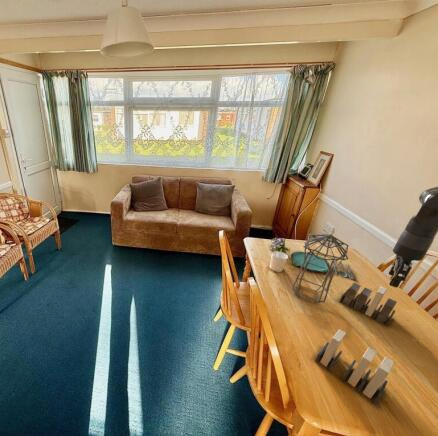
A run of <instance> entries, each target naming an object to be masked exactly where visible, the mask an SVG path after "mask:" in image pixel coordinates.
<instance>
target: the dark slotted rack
mask: <svg viewBox="0 0 438 436" xmlns="http://www.w3.org/2000/svg"><path fill="white" fill-rule="evenodd" d="M346 334H347V333H346V332H345V331H343V330H341V329H340V328H339V329H338V330H337V331H336V332H335V334H334V335H333V336H332V338H331V339H330V342H329V341H327V342H326V343H325V345H324V346H323V347H322V348H321V349H320V351H319V352H317V355H316V357H315V360H314V362H316V363H318V361H319V360H320V359H321V360H320V361H319V362H320V364H322V365H323V366H324V367H328V366H329V367H328V368H327V371H328V372H331V370H332V369H333V368H334V367H335V365H336V363H337V362H338V360H339V359H340V357H341V355H342V353H343V351H342V350H339V348H340V346H341V344H342V342H343V340H344V338H345V336H346ZM338 350H339V352H338V353H337V351H338ZM377 352H378V351H377V350H375V349H373V348H372V347H371V346H368V347H367V349H366V350H365V352H364V353H363V355H362V357H361V359H360V360H359V362H358V363H357V360H356V359H353V360H352V362H351V364H350V365H349V367H348V368H347V370H346V371H345V373H344V375H343V377H342V378H341V382H345V380H346V379H347V377H348V375H349V374H350V373H351V370H352V369H353V367H354V366H355V364H356V363H357V365H356V367H355V368H354V370H353V371H352V373H351V374H350V376H349V378H348V379H347V381H346V382H347V383H348V384H349V385H351V386H352V387H353V388H355V387H356V386H357V384H358V383H359V381H360V380H361V378H362V377H363V378H362V380H361V382H360V383H359V385H358V387H357V388H356V392H357V393H360V392H361V390H362V389H363V387H364V385H365V384H366V385H365V387H364V389H363V391H362V394H363V395H364V396H366V397H367V398H369V399H372V398H373V396H374V395H375V394H376V395H375V396H374V399H373V400H372V404H373V405H376V404H377V403H378V402H379V400H380V399H381V397H382V395H383V393H384V391H385V389H386V387H387V384H388V380H387V379H386V378H387V377H388V375H389V374H390V372H391V370H392V368H393V366H394V363H395V361H394V360H392V359H391V358H389V357H387V356H384V358H383V359H382V361H381V363H380V364H379V365H378V367H377V368H376V369H375V372H373V374H372V376H371V377H370V379H369V376H370V374H371V372H372V370H371V369H368V368H369V366H370V365H371V364H372V361H373V359H374V358H375V356H376V354H377ZM336 353H337V354H336ZM330 362H331V363H330ZM329 364H330V365H329ZM367 369H368V370H367ZM365 372H366V373H365ZM368 379H369V380H368ZM367 380H368V382H367ZM366 382H367V383H366Z"/></svg>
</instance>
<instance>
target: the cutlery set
mask: <svg viewBox="0 0 438 436" xmlns="http://www.w3.org/2000/svg"><path fill="white" fill-rule="evenodd" d="M304 252H305V251H301V250H300V251H293V252H292V253H291V255H290V260H292V264H293V265H294V266H295V267H298V266H299V267H300V268H301V267H302V265H303V262H304ZM311 254H312V253H309V254H308V257H307V259H306V260H307V262H308V260H309V258H310V256H311ZM317 257H319V258H323V259H324V257H323V256H322V255H318V256H317ZM315 258H316V257H315V256H314V255H312V257H311V259H310V262H309V263H312V264H315V265H318V266H321V267H324V268H327V269H328V267H327V264H326V262H325V260H322V259H318V258H317V259H315ZM313 259H315V260H313ZM311 260H312V261H311ZM326 261H327V263H328V266H329V267H330V265H331V264H330V263H329V260H326ZM307 262H305V264H304V266H303V269H304V268H305V266H306V263H307ZM339 263H340V262H339ZM312 264H308V266H307V268H306V270H308V271H311V272H316V273H327V272H328V270H327V269H324V268H321V267H318V266H315V265H312ZM334 264H335V261H334V262H333V265H334ZM339 266H340V269H341V271H339V275H340V276H341V277H342V278H347V277H349V279H350V280H352V281H353V280H354V274H353V273H352V272H351V268H350V264H347V266H346V267H347V270H348V271H347V272H348V273H346V272H345V271H344V270H343V269H344V268H343V263H342V262H341V263H340V264H339ZM336 267H337V266H336ZM336 267H335V268H336ZM334 274H335V275H336V276H338V272H337V268H336V269H335V272H334Z"/></svg>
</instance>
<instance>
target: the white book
mask: <svg viewBox="0 0 438 436" xmlns="http://www.w3.org/2000/svg"><path fill="white" fill-rule="evenodd" d="M387 290H388V288H387V287H385V286H383V285H381V286H380V287H379V288H378V290H377V291H376V293H375V294H374V296H373V298H372V299H371V301H370V303H369V305H368V306H369V307H368V309H367V311H365V313H364V314H365V315H366V316H368V317H371V318H372V316H373V313H374V311H375V310H377V309H378V307H379V304H380V303H381V301H382V299H383V297H384V296H385V294H386V292H387Z"/></svg>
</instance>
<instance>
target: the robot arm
mask: <svg viewBox="0 0 438 436" xmlns="http://www.w3.org/2000/svg"><path fill="white" fill-rule="evenodd" d="M418 201H419V203H420V204H421V207H420V208H419V210H418V211H417V213H416V214H415V215H412V217H411V218H410V219H409V221H408V222H407V224H406V226H405V228H404V230H403V231H402V232H401V234H400V235H399V237H398V239H397V241H396V243H395V244H394V247H393V249H392V252H393V254H395V256H394V258H393V260H392V264H391V267H390V269H389V271H388V275H390V276H392V278H391V280H390V282H389V283H388V284H389V286H391V287H393V288H398V287H399V286H400V284H401V283H402V282H405V281H406V279H407V278H408V276H409V273H410V272H411V270H412V268H413V267H412V266H413V261H417V262H419V261H423V259H424V258H425V256H426V255H427V253H428V251H429V249H430V248H431V247H432V245H433V243H434V241H435V240H434V239H435V238H436V235H438V186H433V187H430V188H428V189H425V190H423V191H422V192H421V193H420V194H419V196H418Z"/></svg>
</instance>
